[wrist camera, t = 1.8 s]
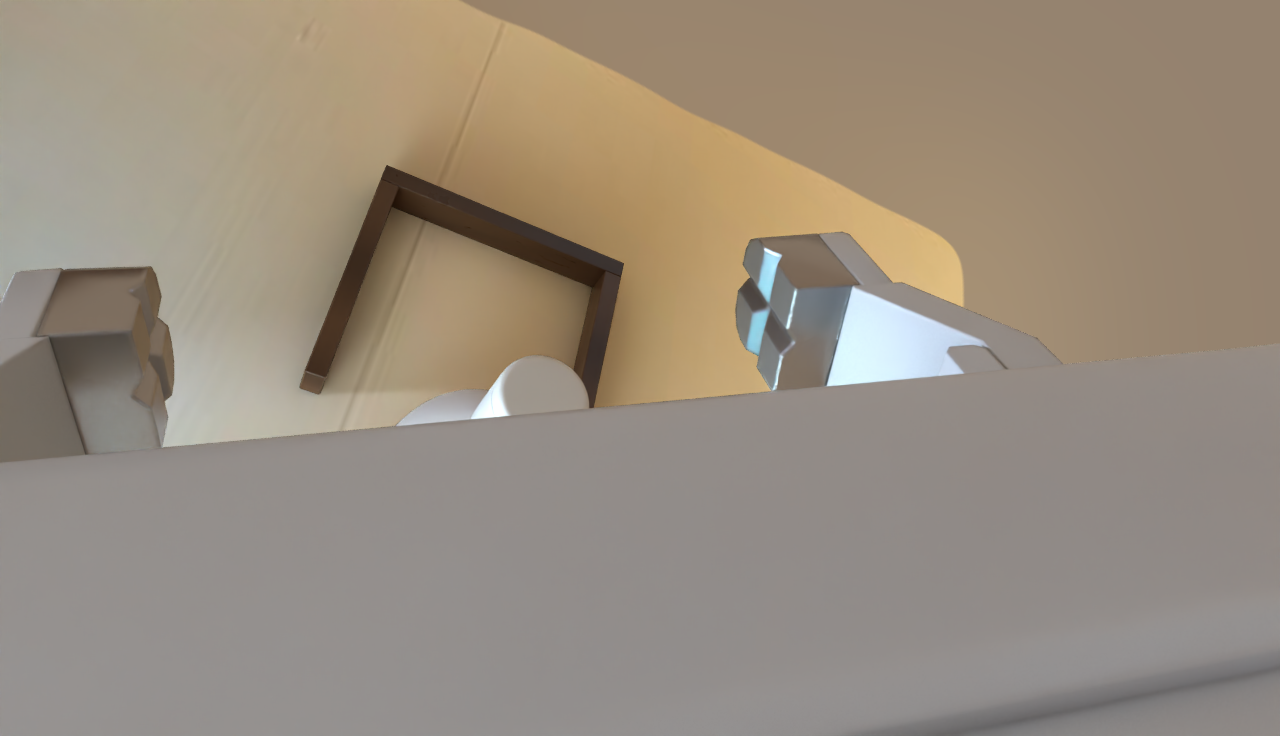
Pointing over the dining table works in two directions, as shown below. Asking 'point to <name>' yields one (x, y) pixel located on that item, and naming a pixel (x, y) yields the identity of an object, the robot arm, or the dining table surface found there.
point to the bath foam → (509, 394)
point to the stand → (485, 229)
